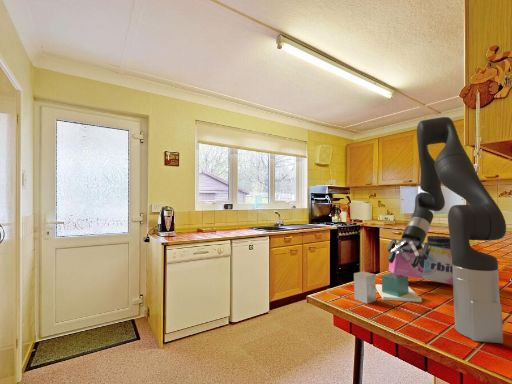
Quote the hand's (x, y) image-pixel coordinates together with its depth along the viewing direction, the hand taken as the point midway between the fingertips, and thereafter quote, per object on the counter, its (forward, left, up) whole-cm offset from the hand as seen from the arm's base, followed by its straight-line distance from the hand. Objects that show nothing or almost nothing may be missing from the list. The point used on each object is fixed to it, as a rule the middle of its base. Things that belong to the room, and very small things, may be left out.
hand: (401, 264), depth 99 cm
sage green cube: (-4, +3, -9) cm, 11 cm away
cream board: (-2, +3, -10) cm, 11 cm away
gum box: (+12, -10, -8) cm, 18 cm away
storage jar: (+40, -28, -11) cm, 50 cm away
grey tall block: (-10, +15, -10) cm, 21 cm away
